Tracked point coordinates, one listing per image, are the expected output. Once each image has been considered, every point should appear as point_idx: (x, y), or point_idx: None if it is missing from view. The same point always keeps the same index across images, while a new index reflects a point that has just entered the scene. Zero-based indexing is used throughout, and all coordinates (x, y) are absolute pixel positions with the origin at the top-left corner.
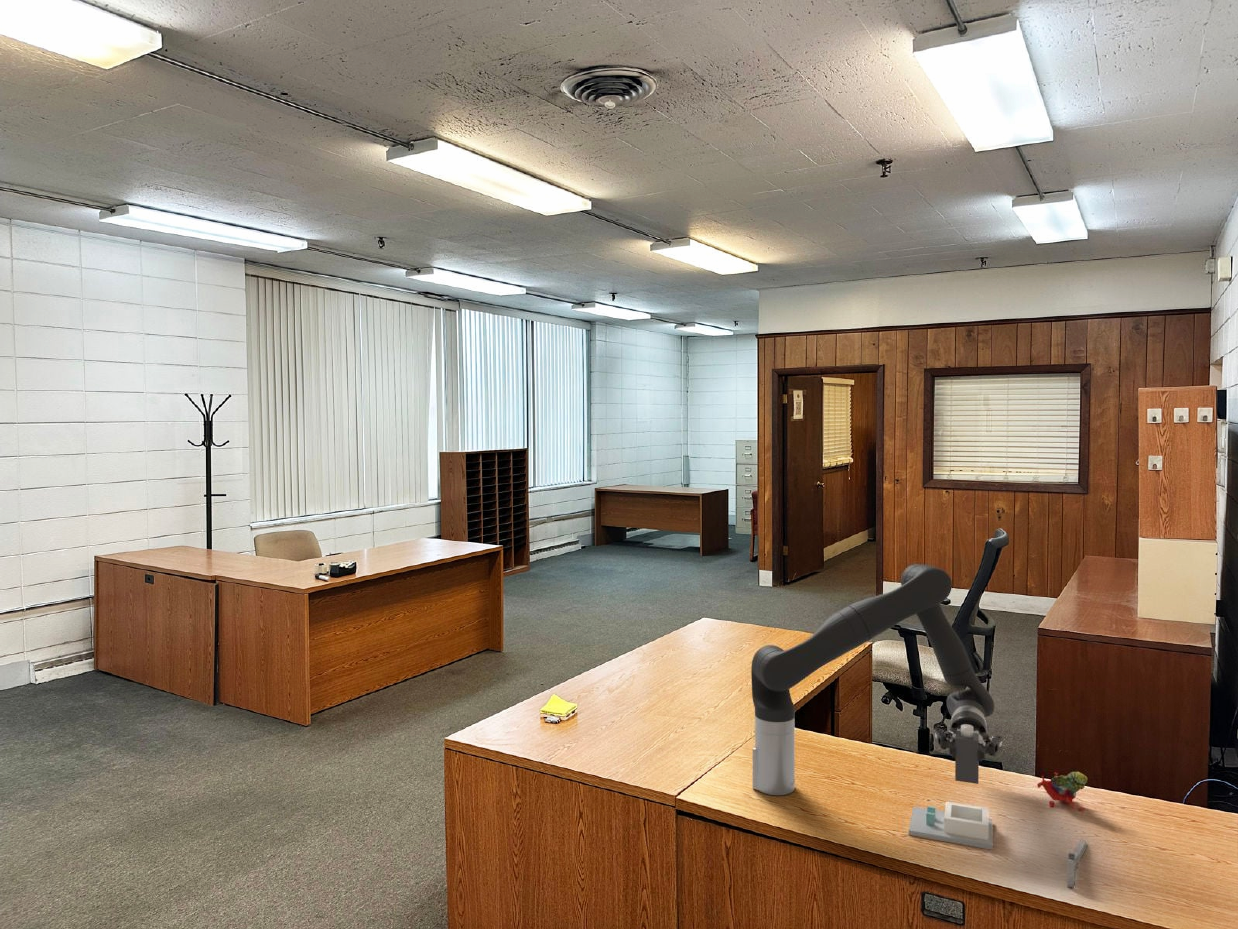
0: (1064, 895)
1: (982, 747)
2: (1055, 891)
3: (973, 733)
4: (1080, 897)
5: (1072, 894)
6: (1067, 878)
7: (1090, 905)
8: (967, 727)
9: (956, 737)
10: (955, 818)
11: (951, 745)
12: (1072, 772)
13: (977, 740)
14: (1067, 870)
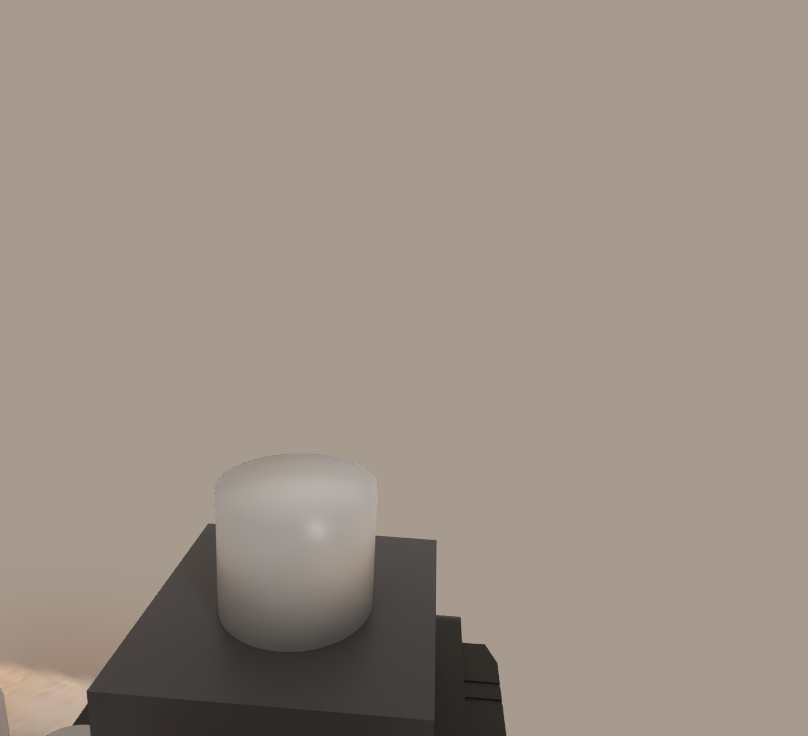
0: (59, 701)
1: None
2: (76, 715)
3: (174, 679)
4: (7, 703)
5: (23, 712)
6: (5, 717)
7: (9, 671)
8: (302, 463)
9: (425, 548)
10: None
11: (473, 698)
12: None
13: (214, 527)
14: (1, 693)
